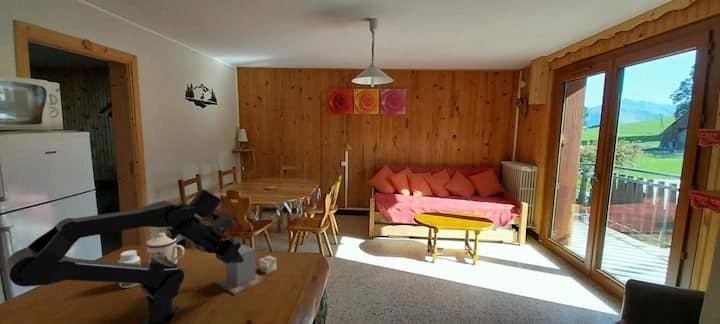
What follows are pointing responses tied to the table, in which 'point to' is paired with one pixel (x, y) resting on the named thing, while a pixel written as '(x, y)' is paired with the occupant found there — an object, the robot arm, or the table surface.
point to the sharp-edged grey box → (242, 268)
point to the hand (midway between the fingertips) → (234, 257)
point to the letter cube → (267, 264)
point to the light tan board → (236, 290)
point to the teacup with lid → (163, 248)
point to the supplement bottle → (129, 258)
